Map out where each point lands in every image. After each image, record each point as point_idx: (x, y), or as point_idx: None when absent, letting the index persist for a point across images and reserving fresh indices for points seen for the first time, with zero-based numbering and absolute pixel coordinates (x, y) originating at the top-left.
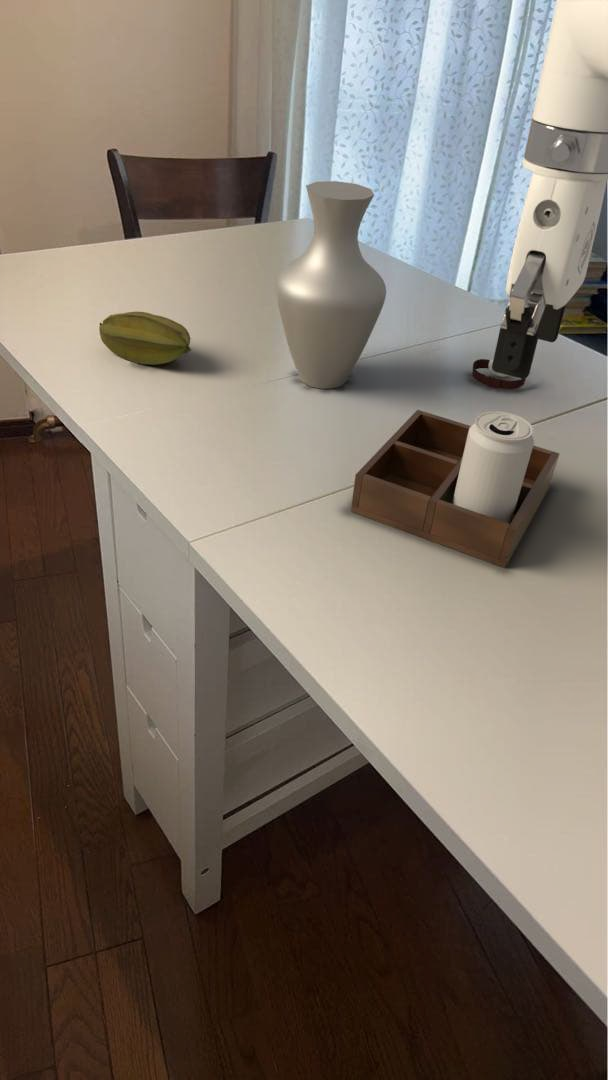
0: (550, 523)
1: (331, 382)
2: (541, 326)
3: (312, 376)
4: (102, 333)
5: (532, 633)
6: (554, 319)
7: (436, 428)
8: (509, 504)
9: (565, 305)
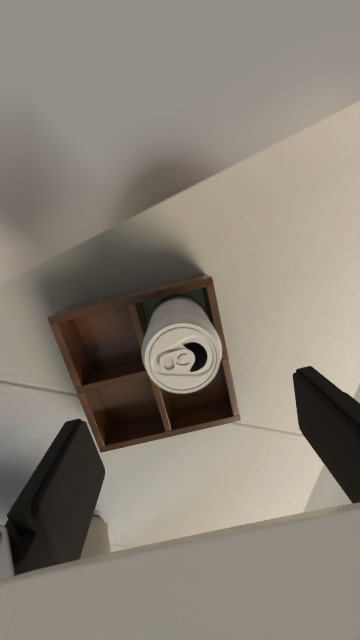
0: (115, 278)
1: (94, 521)
2: (85, 469)
3: (107, 536)
4: None
5: (262, 214)
6: (66, 469)
7: (101, 423)
8: (188, 301)
9: (24, 498)
